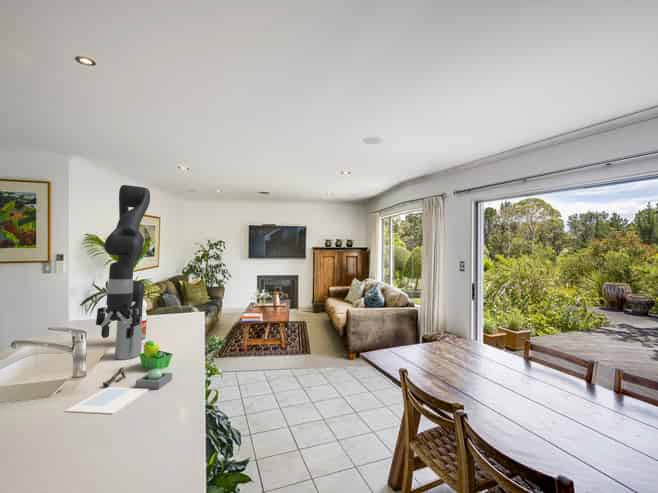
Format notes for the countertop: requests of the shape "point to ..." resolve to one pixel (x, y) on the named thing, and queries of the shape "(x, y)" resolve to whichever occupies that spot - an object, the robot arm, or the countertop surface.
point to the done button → (154, 374)
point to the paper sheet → (108, 400)
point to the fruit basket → (154, 356)
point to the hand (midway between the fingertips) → (117, 337)
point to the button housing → (153, 381)
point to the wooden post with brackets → (106, 384)
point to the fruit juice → (143, 320)
